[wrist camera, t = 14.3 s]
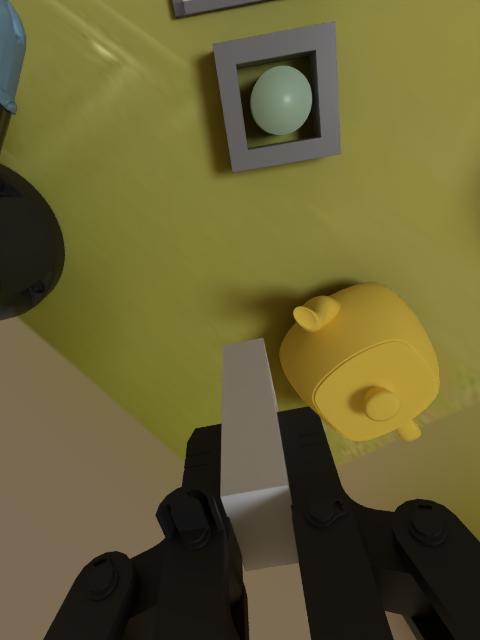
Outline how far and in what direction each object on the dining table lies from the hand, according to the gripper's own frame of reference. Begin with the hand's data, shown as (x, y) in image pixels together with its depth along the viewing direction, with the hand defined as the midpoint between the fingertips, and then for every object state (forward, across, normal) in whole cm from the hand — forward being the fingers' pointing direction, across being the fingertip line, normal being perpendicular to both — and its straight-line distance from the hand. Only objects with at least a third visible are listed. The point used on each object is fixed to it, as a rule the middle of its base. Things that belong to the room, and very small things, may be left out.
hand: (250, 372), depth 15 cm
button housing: (+26, +5, +9) cm, 28 cm away
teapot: (+26, +8, -13) cm, 30 cm away
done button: (+25, +5, +9) cm, 27 cm away
